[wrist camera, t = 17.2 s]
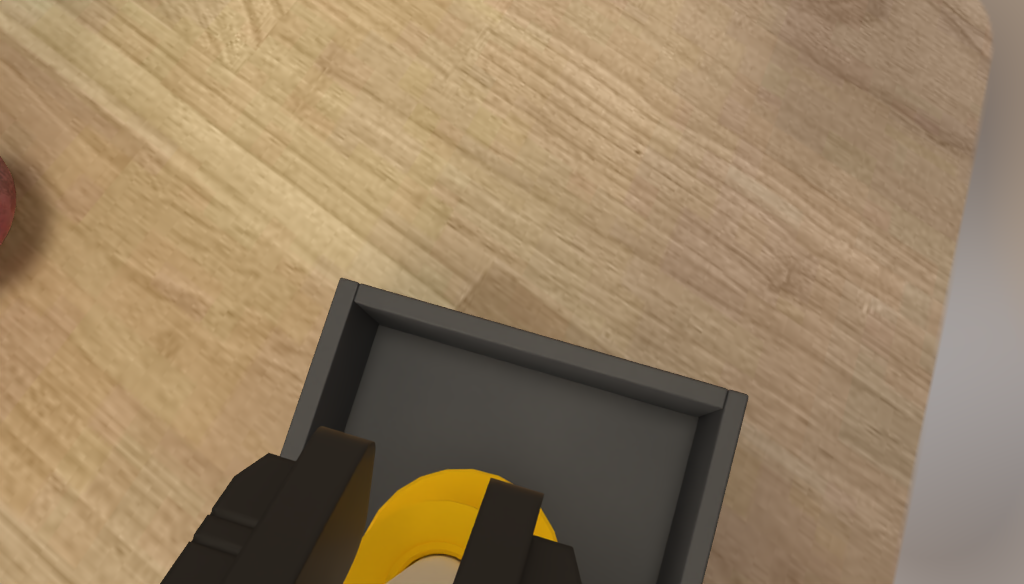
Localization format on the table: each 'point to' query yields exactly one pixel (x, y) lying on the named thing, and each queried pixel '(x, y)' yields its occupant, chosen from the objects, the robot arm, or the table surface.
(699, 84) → the table surface
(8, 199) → the vegetable
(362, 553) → the candle
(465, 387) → the dark grey open box
